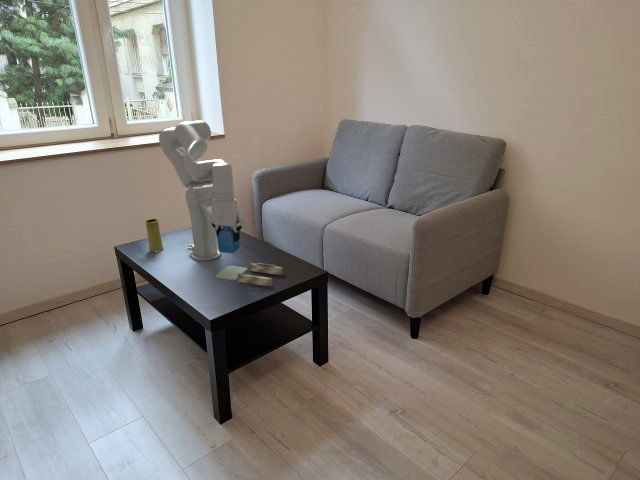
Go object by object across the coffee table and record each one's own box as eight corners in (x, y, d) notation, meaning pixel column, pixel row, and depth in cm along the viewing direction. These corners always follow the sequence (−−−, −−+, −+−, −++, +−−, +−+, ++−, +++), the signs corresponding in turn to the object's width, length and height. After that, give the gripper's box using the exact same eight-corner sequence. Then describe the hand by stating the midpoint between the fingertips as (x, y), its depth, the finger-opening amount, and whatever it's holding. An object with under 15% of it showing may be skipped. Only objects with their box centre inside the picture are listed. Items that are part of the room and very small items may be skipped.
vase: (166, 248, 204) (161, 219, 199) (155, 253, 199) (150, 223, 194) (157, 246, 207) (152, 217, 202) (146, 250, 203) (141, 221, 197)
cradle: (237, 281, 172) (237, 273, 171) (251, 269, 182) (250, 261, 181) (270, 286, 168) (270, 278, 166) (282, 274, 178) (282, 265, 176)
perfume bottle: (233, 253, 171) (231, 223, 167) (219, 252, 173) (215, 223, 168) (239, 247, 177) (237, 218, 173) (225, 246, 178) (222, 218, 174)
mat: (214, 277, 175) (214, 276, 175) (228, 266, 185) (228, 265, 185) (234, 280, 173) (234, 279, 172) (247, 269, 182) (247, 268, 182)
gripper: (198, 196, 166) (204, 241, 173) (239, 200, 161) (243, 245, 167) (209, 191, 173) (214, 234, 179) (249, 195, 167) (252, 239, 174)
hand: (228, 239), depth 173 cm, fingers closed on perfume bottle, 6 cm apart
